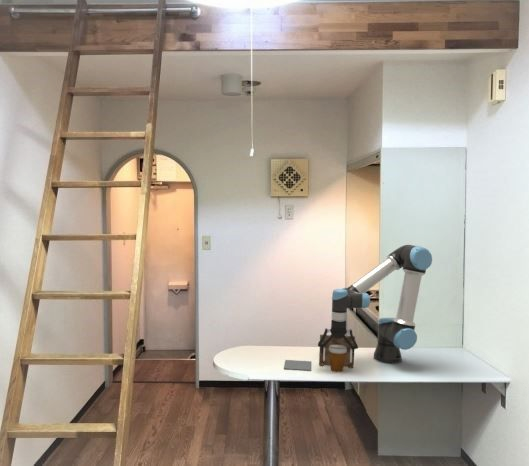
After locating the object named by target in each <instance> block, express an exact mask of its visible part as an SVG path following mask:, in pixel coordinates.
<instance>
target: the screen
mask: <svg viewBox="0 0 529 466" xmlns="http://www.w3.org/2000/svg"><path fill="white" fill-rule="evenodd" d="M322 336H323V335H322V334H320V335H319V340H320V339H321V337H322ZM329 336H330V335H326V336H325V338H324V340H323V342H322V344H323V343H324V342H325V341H326V340H327V339H328V338H329ZM345 336H346V337H347V338H348V340H349V341H350V342H351V344H352V345H353V346H355V345H354V343H353V341H352V338H351V336H350V335H345ZM353 337H354V339H355V340H356V336H354V335H353ZM330 345H342V346H345V347H346V349H347V352H346V356H345V362H344V367H345V368H348V369H354V367H355V366H354V365H355V355H354V356H352V363H350V348H351V347H350V346H349V344H348V343H347V342H346V341H345V339H344V338H334V337H333V338H332V339H331V340H330V341H329V342H328V343H327V344H326V346H325V361H323V354H321V347H319V353H318V354H319V355H318V356H319V358H318V365H319V367H323V366H324V367H325V366H327V367H328V366H329V367H331V366H330V355H329V350H328V348H329V346H330Z"/></svg>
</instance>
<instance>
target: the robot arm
mask: <svg viewBox="0 0 529 466" xmlns="http://www.w3.org/2000/svg"><path fill="white" fill-rule="evenodd" d="M432 263H433V256H432V253H431V252H430V250H429V249H428V248H426V247H424V246H420V245H412V244H405V245H401V246H399V247H398V248H396V249H394V250H393V251H392V252H391V253H389V254H388V255H387V256H386V259H384V260H382V261H381V262H380V263H379V264H377V265H376V266H375V267H374V268H372V269H371V270H370V271H368V272H367V273H365V274H364V275H363V276H361V277H360V278H358V279H357V280H356V281H354V283H352V284H350V285H349V286H348V287H343V288H335V289H333V291H332V296H331V321H330V322H331V324H330V325H331V326H330V328H327V327H325V328H324V332H323V336H322V337H321V339H320V338H319V341H318V344H317V346H318V347H319V348H320V347H321V354H323V361H325V346H326V344H327V343H328V342H329V341H330V340H331V339H332V338H333V337H334V338H344V339H345V341H346V342H347V343H348V344H349V346H350V347H351V348H350V363H352V356H354V357H355V350H357V349H359V345H358V344H357V341H356V338H355V339H354V337H353V336H354V334H353V330H352V329H347V316H348V315H347V310H348V309H366V308H369V306H370V304H371V298H370V295H369V294H368V293H366V292H368V291H369V290H370V289H372V288H373V287H374V286H376V285H377V284H378V283H380V282H381V281H382V280H384V279H385V278H387V277H388V276H389V275H390V274H392V273H393V272H395V271H399V270H400V269H401V268H402V271H403V272H404V276H403V281H402V287H401V291H400V296H399V302H398V307H397V312H396V317H380V318H379V319H378V320H377V321H378V323H377V344H376V347H375V350H374V353H373V360H375V361H377V362H380V363H384V364H399V363H402V360H403V359H402V358H403V357H402V352H401V350H405V351H406V350H411V348H413V347H414V346H415V345H416V343H417V340H418V335H417V333H416V331H415V329H416V323H415V322H414V318H415V312H416V309H417V308H416V307H417V303H418V298H419V292H420V286H421V282H422V277H423V276H424V275H426V272H427V270H428V269H429V268H430V267H431V266H432ZM327 334H331V335H330V336H329V338H328V339H327V340H326V341H325V342H324V343H323V344H322V342H323V340H324V338H325V336H326V335H327ZM346 334H348V335H349V336H351V338H352V341H353V343H354V345H355V346H353V345H352V344H351V342H350V341H349V340H348V338H347V337H346V336H347V335H346Z"/></svg>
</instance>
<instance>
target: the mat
mask: <svg viewBox="0 0 529 466" xmlns="http://www.w3.org/2000/svg"><path fill="white" fill-rule="evenodd" d="M283 370H290V371H303V372H312V361H311V360H310V361H309V360H296V359H295V360H293V359H285V360H284V365H283Z"/></svg>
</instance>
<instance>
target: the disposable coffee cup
mask: <svg viewBox="0 0 529 466" xmlns="http://www.w3.org/2000/svg"><path fill="white" fill-rule="evenodd" d="M328 350H329V355H330V366H329V367H330V371H331V372H334V373H341V372H343V371H344V362H345V356H346V352H347V349H346V347H345V346H342V345H330V346H329V348H328Z"/></svg>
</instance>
